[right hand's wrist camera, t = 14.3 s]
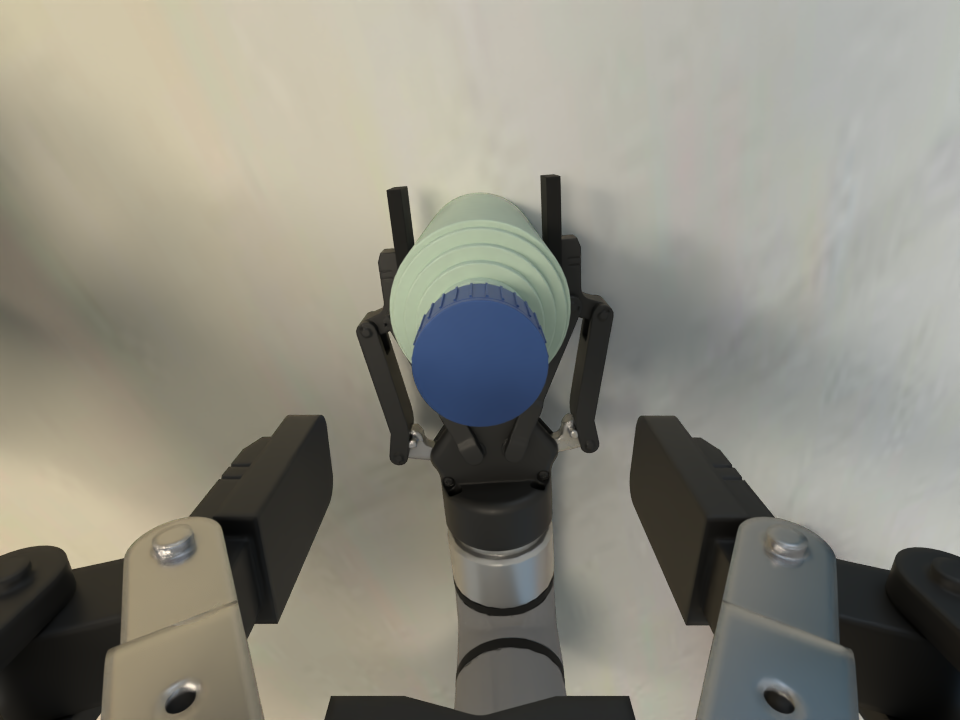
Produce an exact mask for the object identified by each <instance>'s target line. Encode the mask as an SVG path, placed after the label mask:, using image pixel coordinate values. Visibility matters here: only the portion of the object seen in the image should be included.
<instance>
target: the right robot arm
mask: <svg viewBox="0 0 960 720" xmlns="http://www.w3.org/2000/svg"><path fill="white" fill-rule="evenodd" d="M332 489H333V473H332V465H331V457H330V449H329V441H328V433H327V425H326V421H325V418H324V417H323V416H322V415H288V416H287V417H286V418H285V419H284V420H283V422H282V423H281V424H280V426H279V427H278V428H277V430H276V431H275V432H274V434H273V435H272V437H262V438H260V439H259V440H257V441H255V442H254V443H252V444H251V445H249V446H248V447H246V448H244V449H243V450H242V451H241V453H240V454H239V455H238V456H237V458H236V459H235V460H234V461H233V463H232V464H231V467H229V468H228V469H227V470H226V471H225V473H224V474H223V475H222V478H221V479H219V480H218V481H217V482H216V484H215V485H214V486H213V487H212V489H211V490H210V491H209V492H208V494H207V495H206V496H205V497H204V499H203V500H202V501H201V502H200V504H199V505H198V506H197V507H196V509H195V510H194V511H193V512H192V514H191V515H190V516H189V517H187V518H181V519H177V520H173V521H170V522H167V523H164V524H162V525H160V526H157V527H155V528H153V529H152V530H150V531H148V532H147V533H145V534H144V535H142V536H141V537H140V538H138V539H137V540H136V541H135V542H134V543H133V544H132V545H131V546H130V548H129V549H128V550H127V552H126V554H125V557H124V558H123V559H119V560H114V561H110V562H105V563H100V564H96V565H91V566H86V567H82V568H77V569H71V566H70V563H69V561H68V558H67V555H66V553H65V552H64V551H63V550H62V549H60V548H58V547H54V546H34V547H28V548H24V549H20V550H16V551H13V552H10V553H7V554H4V555H2V556H0V720H96V719H97V718H98V716H99V715H100V714H101V720H265V719H264V715H263V710H262V706H261V701H260V697H259V692H258V688H257V683H256V679H255V674H254V669H253V665H252V660H251V656H250V651H249V647H248V642H247V638H248V636H249V634H250V632H251V630H252V628H253V626H254V624H278V622H279V619H280V617H281V615H282V612H283V610H284V608H285V605H286V603H287V601H288V598H289V596H290V594H291V591H292V589H293V587H294V584H295V582H296V580H297V577H298V575H299V573H300V571H301V568H302V566H303V564H304V561H305V559H306V557H307V554H308V552H309V550H310V547H311V545H312V543H313V540H314V538H315V536H316V533H317V531H318V529H319V526H320V524H321V522H322V520H323V517H324V515H325V513H326V510H327V508H328V506H329V503H330V500H331V496H332ZM630 493H631V498H632V502H633V505H634V507H635V510H636V512H637V514H638V516H639V519H640V521H641V523H642V526H643V528H644V530H645V532H646V535H647V537H648V539H649V542H650V544H651V546H652V548H653V551H654V553H655V555H656V557H657V560H658V562H659V564H660V567H661V569H662V571H663V573H664V576H665V578H666V580H667V583H668V585H669V587H670V589H671V592H672V594H673V596H674V599H675V601H676V603H677V605H678V608H679V610H680V612H681V615H682V617H683V619H684V621H685V624H686V625H710V627H711V630H712V632H713V634H714V638H713V642H712V647H711V651H710V656H709V660H708V665H707V669H706V674H705V679H704V683H703V688H702V692H701V697H700V701H699V706H698V710H697V715H696V719H695V720H859V714H860V715H861V716H862V718H863V719H864V720H960V557H958V556H956V555H953V554H950V553H947V552H943V551H940V550H935V549H930V548H920V547H914V548H907V549H903V550H901V551H900V552H898V554H897V555H896V557H895V560H894V562H893V565H892V568H891V570H885V569H881V568H876V567H871V566H867V565H862V564H857V563H853V562H848V561H844V560H840V559H836V557H835V554H834V552H833V550H832V549H831V548H830V546H829V545H828V544H827V543H826V542H825V541H824V540H823V539H822V538H820V537H819V536H818V535H816V534H815V533H813V532H812V531H810V530H808V529H807V528H805V527H803V526H800V525H798V524H796V523H793V522H790V521H787V520H783V519H779V518H775V517H774V516H773V515H772V513H771V512H770V511H769V510H768V509H767V507H766V506H765V505H764V504H763V502H762V501H761V500H760V499H759V497H758V496H757V495H756V494H755V493H754V491H753V490H752V489H751V488H750V486H749V485H748V484H747V483H746V481H745V480H742V477H741V475H740V474H739V473H738V472H737V470H736V469H735V468H732V464H731V463H730V462H729V460H728V459H727V458H726V457H725V456H724V454H723V453H722V452H721V451H720V450H719V449H717V448H716V447H714V446H713V445H711V444H710V443H708V442H706V441H705V440H703V439H702V438H692V437H691V436H690V434H689V433H688V432H687V430H686V429H685V428H684V426H683V425H682V424H681V422H680V421H679V420H678V418H677V417H676V416H640V417H639V418H638V421H637V424H636V431H635V439H634V447H633V455H632V463H631V471H630ZM325 720H635V716H634V712H633V709H632V705H631V701H630V698H629V696H554V697H551V698H547V699H543V700H539V701H536V702H532V703H528V704H524V705H521V706H517V707H513V708H510V709H506V710H502V711H498V712H495V713H491V714H487V715H473V714H469V713H465V712H461V711H458V710H454V709H450V708H447V707H443V706H439V705H435V704H432V703H428V702H424V701H421V700H417V699H413V698H409V697H406V696H331V698H330V701H329V705H328V709H327V712H326V716H325Z"/></svg>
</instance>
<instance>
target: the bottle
mask: <svg viewBox="0 0 960 720" xmlns="http://www.w3.org/2000/svg"><path fill="white" fill-rule="evenodd" d="M470 283H473V284H485V283H488V284H491V285H496V286H499V287H500V285H501V286H503V288H505V289H507V290H509V291H511V292H516V295H517V296H519V297H520V298H521V299H522V300H523V301H524V302H525V301H527V303H528V306H529V307H530V309H531V310H532V312H533V313H534V312H535V313H536V316H537V319H538V321H539V324H540V325H541V327H542V330H543V333H544V336H545V339H546V342H547V343H545V345H546V348H547V352H548V355H549V358H548V364H549V363H550V361H551V360H552V359H553V358H554V356H555V355H556V353H557V352H558V350H559V348H560V347H561V345H562V343H563V340H564V338H565V336H566V332H567V329H568V325H569V320H570V307H571V301H570V293H569V288H568V284H567V281H566V278H565V275H564V273H563V270H562V268H561V266H560V265H559V263H558V261H557V260H556V258H555V257H554V255H553V254H552V253H551V251H550V250H549V248H548V247H547V246H546V244H545V243H544V242H543V240H542V239H541V237H540V236H539V235H538V233H537V232H536V231H535V229H534V228H533V226H532V225H531V224H530V222H529V221H528V220H527V218H526V217H525V216H524V214H523V213H522V212H521V211H520V210H519V209H518V208H517V207H516V206H515V205H514V204H512V203H511V202H510V201H508V200H506V199H504V198H502V197H499V196H497V195H493V194H488V193H472V194H467V195H464V196H461V197H458V198H456V199H454V200H452V201H451V202H449V203H448V204H446V205H445V206H444V207H443V208H442V209H441V210H440V211H439V212H438V213H437V214H436V216H435V217H434V218H433V220H432V221H431V222H430V224H429V225H428V227H427V228H426V229H425V231H424V232H423V233H422V235H421V236H420V238H419V239H418V240H417V242H416V243H415V244H414V246H413V247H412V249H411V250H410V251H409V253H408V254H407V255H406V257H405V259H404V260H403V262H402V263H401V265H400V267H399V269H398V271H397V273H396V275H395V278H394V281H393V285H392V288H391V295H390V318H391V324H392V328H393V332H394V335H395V337H396V340H397V342H398V344H399V346H400V348H401V350H402V351H403V353H404V355H405V356H406V357H407V359H408V360H409V361H410V363H411V364H412V360H411V357H412V354H413V349H414V345H413V343H414V340H415V337H416V334H417V331H418V329H419V327H420V324H421V321H422V318H423V316H424V314H426V313H427V312H428V311H429V309H430V307H431V304H432V303H435V302H436V301H437V300H438V299H439V298H440V297H442V294H443V293H445V294H446V293H448V292H449V291H451V290H453V289H455V287H457V286H458V287H461V286H464V285H470Z"/></svg>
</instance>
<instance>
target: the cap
mask: <svg viewBox="0 0 960 720" xmlns="http://www.w3.org/2000/svg"><path fill="white" fill-rule="evenodd" d="M545 343H547V342H546V339H545V336H544V333H543V330H542V327H541V325H540V324H539V321H538V319H537V316H536V313H535V312H534V313H533V312H532V310H531V309H530V307H529V306H528V303H527V301H525V302H524V301H523V300H522V299H521V298H520V297H519V296H517V295H516V292H511V291H509V290H507V289H505V288H503V286H501V285H500V287H499V286H496V285H491V284H488V283H485V284H473V283H470V285H464V286H461V287H458V286H457V287H455V289H453V290H451V291H449V292H448V293H446V294H445V293H443V294H442V297H440V298H439V299H438V300H437V301H436V302H435V303H432V304H431V307H430V309H429V311H428V312H427V313H426V314H424V316H423V318H422V321H421V324H420V327H419V329H418V331H417V334H416V337H415V340H414V343H413V345H414V349H413V354H412V357H411V360H412V373H413V377H414V381H415V384H416V386H417V389H418V391H419V392H420V394H421V396H422V397H423V399H424V400H425V401H426V403H427V404H428V405H429V406H430V407H431V408H432V409H433V410H435V411H436V412H437V413H438V414H440V415H441V416H443V417H445V418H446V419H448V420H451V421H453V422H456V423H459V424H462V425H467V426H475V427H486V426H493V425H498V424H501V423H505V422H507V421H510V420H512V419H514V418H515V417H517V416H519V415H520V414H522V413H523V412H524V411H526V410H527V409H528V408H529V407H530V406H531V405H532V404H533V403H534V402H535V400H536V399H537V398H538V396H539V395H540V393H541V391H542V389H543V387H544V385H545V382H546V378H547V374H548V358H549V355H548V352H547V348H546V345H545Z"/></svg>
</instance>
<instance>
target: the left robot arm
mask: <svg viewBox="0 0 960 720" xmlns="http://www.w3.org/2000/svg"><path fill="white" fill-rule="evenodd" d="M387 197H388V205H389V212H390V219H391V227H392V234H393V241H394V248H393V249H384V250H383V251H382V252H381V253H380V256H379V261H378V265H379V272H380V279H381V286H382V292H383V299H384V307H383V308H381V309H379V310H376V311H371V312H369V313H368V314H367V315H366V316H365V317H364V319H363V320H362V321H361V323H360V324H359V326H358V327H357V330H356V333H357V337H358V340H359V343H360V346H361V349H362V352H363V354H364V357H365V360H366V363H367V366H368V369H369V372H370V375H371V378H372V381H373V384H374V386H375V389H376V392H377V395H378V398H379V401H380V404H381V407H382V410H383V413H384V415H385V418H386V421H387V424H388V427H389V430H390V433H391V440H390V460H391V462H392V463H394V464H396V465H403V464H405V463H406V462H407V460H408V458H415V459H425V460H431V462H432V464H433V466H434V467H435V468H436V469H437V471H438V472H439V474H440V477H441V483H442V491H443V499H444V507H445V516H446V522H447V526H448V541H449V548H450V555H451V562H452V569H453V578H454V584H455V589H456V601H457V612H458V631H459V634H458V658H457V673H456V693H455V708H454V710H458V711H461V712H465V713H469V714H473V715H487V714H491V713H495V712H498V711H502V710H506V709H510V708H513V707H517V706H521V705H524V704H528V703H532V702H536V701H539V700H543V699H547V698H551V697H554V696H566V690H565V679H564V669H563V661H562V655H561V649H560V643H559V637H558V631H557V623H556V612H555V597H554V582H553V580H554V548H553V524H552V521H551V520H552V487H551V467H552V464H553V462H554V460H555V459H556V457H557V455H558V452H560V451H565V450H569V449H573V448H577V447H581V449H582V450H583V451H584V452H586V453H592V452H595V451H596V450H597V449H598V447H599V440H598V435H597V431H596V426H595V422H594V419H595V414H596V408H597V403H598V397H599V392H600V386H601V381H602V376H603V370H604V365H605V359H606V354H607V348H608V343H609V337H610V332H611V326H612V321H613V311H612V309H611V308H610V306H609V305H608V304H607V303H606V302H605V300H604V299H603V298H602V297H600V296H598V295H590V294H586V293H584V292H582V291H581V246H580V244H579V242H578V239H577V238H576V237H575V236H574V235H562V236H561V183H560V176H558V175H554V174H552V175H541V207H542V239H543V242H544V243H545V244H546V246H547V247H548V248H549V250H550V251H551V253H552V254H553V255H554V257H555V258H556V260H557V261H558V263H559V265H560V266H561V268H562V270H563V273H564V275H565V278H566V281H567V284H568V288H569V293H570V301H571V307H570V320H569V325H568V329H567V332H566V336H565V338H564V340H563V343H562V345H561V347H560V348H559V350H558V352H557V353H556V355H555V356H554V358H553V359H552V360H551V361H550V363H549V364H548V374H547V378H546V382H545V385H544V387H543V389H542V391H541V393H540V395H539V396H538V398H537V399H536V400H535V402H534V403H533V404H532V405H531V406H530V407H529V408H528V409H527V410H526V411H524V412H523V413H522V414H520V415H519V416H517V417H515V418H514V419H512V420H510V421H507V422H505V423H501V424H498V425H493V426H486V427H475V426H467V425H462V424H459V423H456V422H453V421H451V420H448V419H446V418H445V417H443V416H441V415H440V414H439V416H440V418H441V420H442V422H443V423H444V426H443V427H442V429H441V430H440V432H439V433H438V435H437V436H436V438H435V439H434V441H433V440H429V439H428V438H427V437H426V436H425V434H424V430H423V428H422V427H421V426H420V425H419V424H414V417H413V411H412V407H411V403H410V400H409V397H408V394H407V391H406V388H405V385H404V382H403V378H402V375H401V372H400V369H399V366H398V363H397V360H396V357H395V353H394V350H393V347H392V344H391V341H390V338H389V335H388V332H389V331H391V333H392V335H393V336H394V338H395V340H396V337H395V335H394V332H393V328H392V324H391V318H390V295H391V288H392V285H393V281H394V278H395V275H396V273H397V271H398V269H399V267H400V265H401V263H402V262H403V260H404V259H405V257H406V255H407V254H408V253H409V251H410V250H411V249H412V247H413V246H414V237H413V229H412V221H411V213H410V205H409V196H408V188H407V186H404V187H394V188H391V189H389V190H387ZM578 317H580V318H583V320H582V326H581V332H580V339H579V345H578V351H577V357H576V363H575V370H574V376H573V382H572V388H571V395H570V412H571V414H570V413H568V414H566V415H565V417H564V418H563V419H562V421H561V427H560V429H559V430H558V431H557V432H554V433H553V432H552V431H551V430H550V429H549V428H548V426H547V425H546V424H545V423H544V422H543V421H542V420H541V419H540V418H539V416H540V414H541V411H542V408H543V402H544V399H545V396H546V394H547V391H548V389H549V387H550V384H551V382H552V379H553V377H554V375H555V372H556V370H557V367H558V365H559V363H560V360H561V358H562V356H563V353H564V351H565V348H566V346H567V344H568V341H569V339H570V336H571V334H572V332H573V329H574V327H575V325H576V322H577V320H578ZM396 341H397V340H396ZM397 343H398V342H397ZM406 358H407V357H406ZM408 361H409V360H408ZM409 363H410V361H409ZM410 364H411V363H410ZM411 366H412V364H411Z"/></svg>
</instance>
